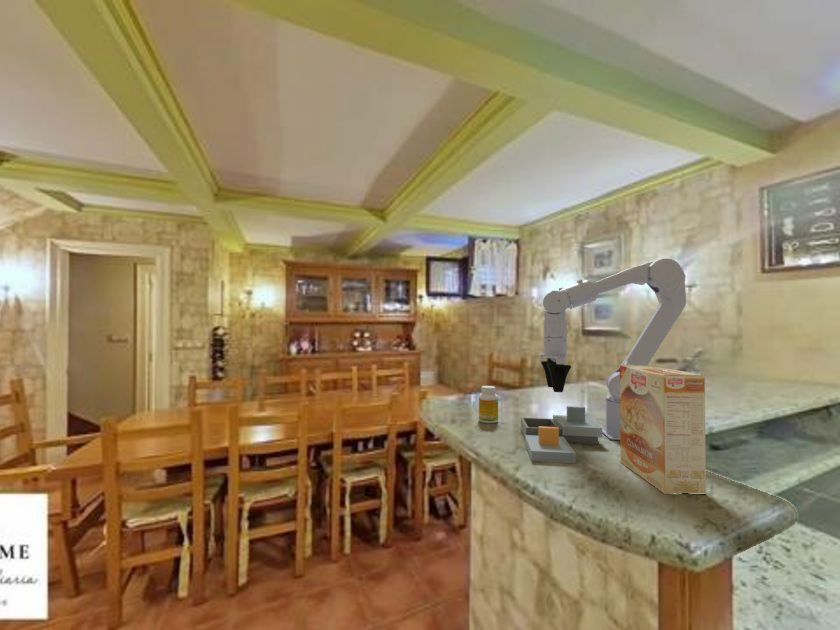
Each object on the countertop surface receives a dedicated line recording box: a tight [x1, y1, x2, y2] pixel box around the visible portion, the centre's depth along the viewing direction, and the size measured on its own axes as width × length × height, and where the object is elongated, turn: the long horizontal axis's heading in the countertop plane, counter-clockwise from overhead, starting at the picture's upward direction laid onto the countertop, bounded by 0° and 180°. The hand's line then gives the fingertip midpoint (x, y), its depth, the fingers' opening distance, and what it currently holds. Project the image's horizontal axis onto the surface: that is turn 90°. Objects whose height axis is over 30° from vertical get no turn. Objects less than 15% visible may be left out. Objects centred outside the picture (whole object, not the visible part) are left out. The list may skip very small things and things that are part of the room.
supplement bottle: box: [478, 385, 499, 424], centre depth 110 cm, size 5×5×10 cm
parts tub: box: [520, 417, 599, 446], centre depth 95 cm, size 16×10×3 cm, turn 82°
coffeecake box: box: [619, 364, 707, 495], centre depth 70 cm, size 15×7×20 cm, turn 178°
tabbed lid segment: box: [524, 426, 577, 464], centre depth 83 cm, size 9×11×5 cm
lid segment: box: [552, 405, 603, 438], centre depth 94 cm, size 9×11×5 cm
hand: (555, 389), depth 102 cm, fingers open, 7 cm apart
